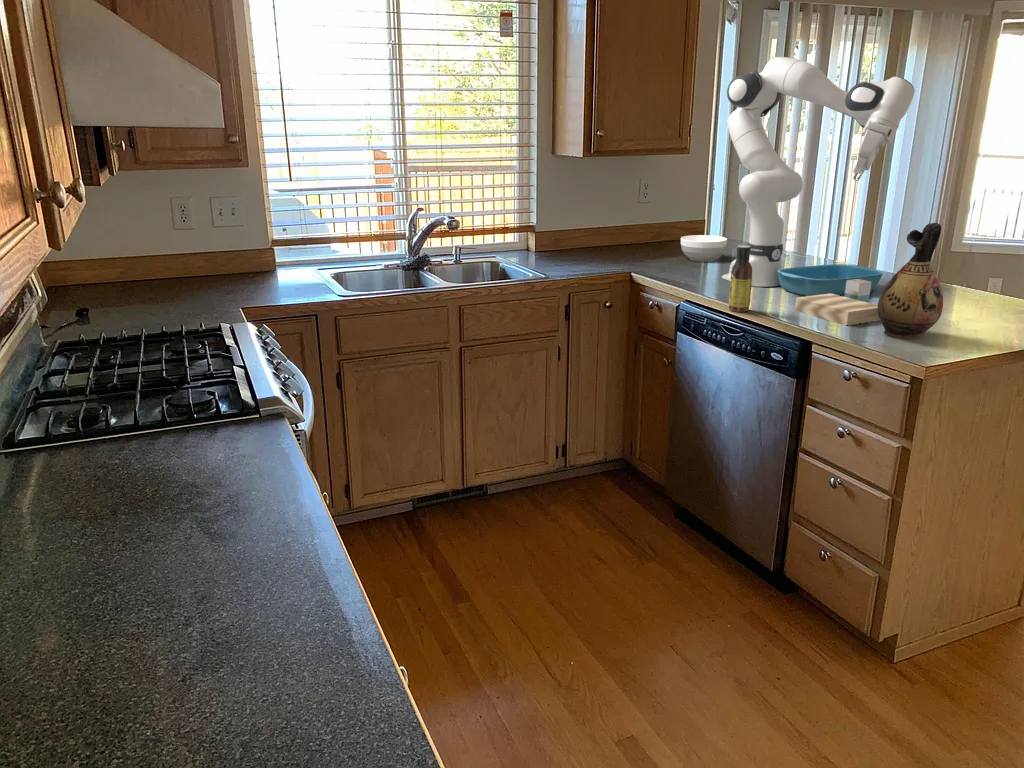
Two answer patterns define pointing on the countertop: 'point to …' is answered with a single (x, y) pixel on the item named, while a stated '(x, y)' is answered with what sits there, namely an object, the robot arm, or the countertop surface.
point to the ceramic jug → (913, 290)
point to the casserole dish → (825, 278)
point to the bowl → (703, 247)
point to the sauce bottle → (741, 281)
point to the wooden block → (837, 309)
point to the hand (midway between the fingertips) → (855, 176)
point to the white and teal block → (858, 289)
